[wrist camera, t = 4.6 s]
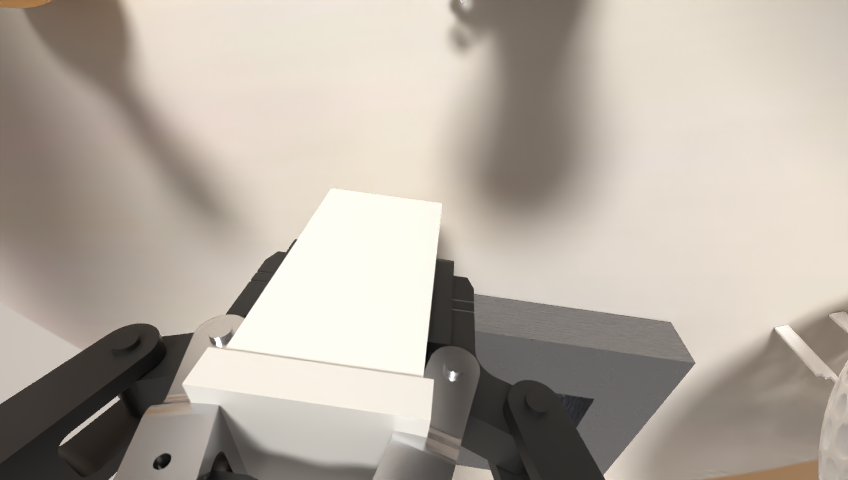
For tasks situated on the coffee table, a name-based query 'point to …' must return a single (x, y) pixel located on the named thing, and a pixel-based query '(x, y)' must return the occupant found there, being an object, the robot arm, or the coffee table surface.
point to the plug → (332, 344)
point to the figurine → (22, 3)
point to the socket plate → (582, 366)
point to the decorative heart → (828, 405)
